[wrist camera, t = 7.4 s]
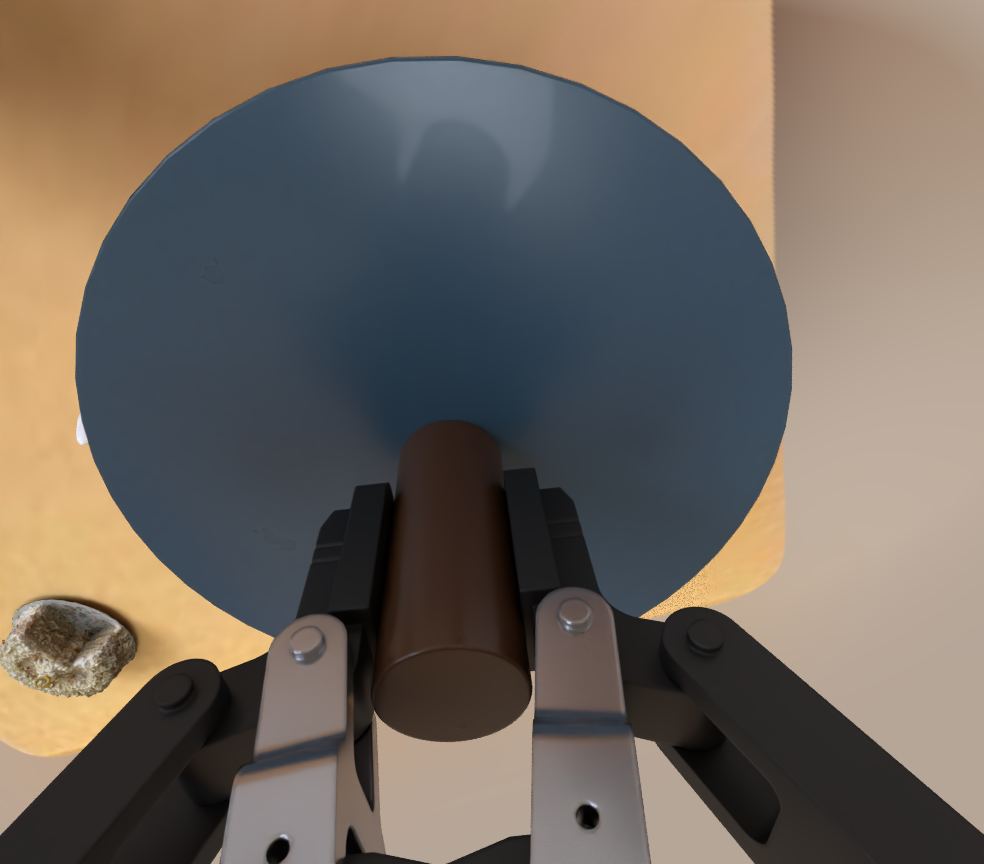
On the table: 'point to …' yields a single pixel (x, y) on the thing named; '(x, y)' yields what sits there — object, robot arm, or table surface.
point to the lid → (432, 357)
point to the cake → (65, 648)
